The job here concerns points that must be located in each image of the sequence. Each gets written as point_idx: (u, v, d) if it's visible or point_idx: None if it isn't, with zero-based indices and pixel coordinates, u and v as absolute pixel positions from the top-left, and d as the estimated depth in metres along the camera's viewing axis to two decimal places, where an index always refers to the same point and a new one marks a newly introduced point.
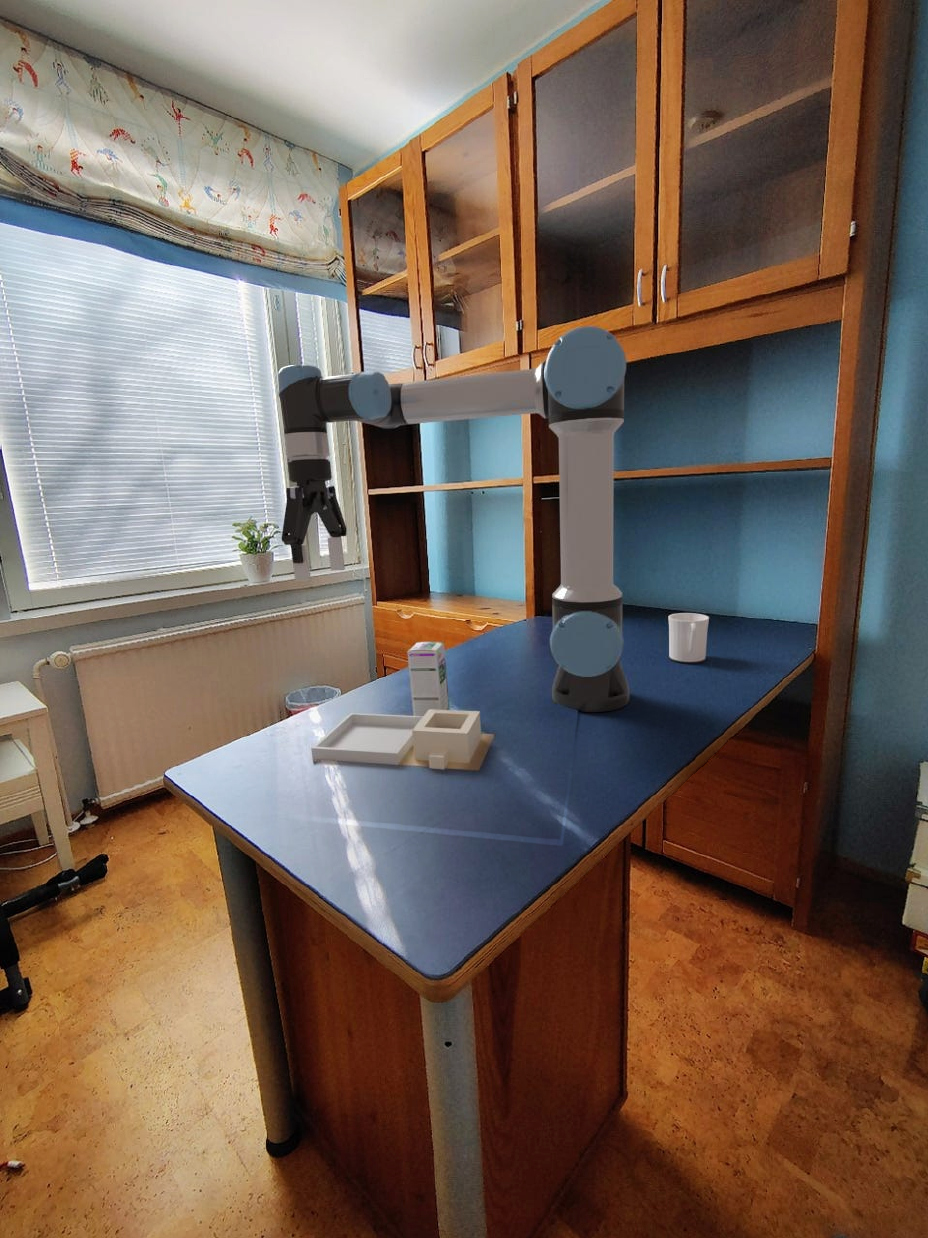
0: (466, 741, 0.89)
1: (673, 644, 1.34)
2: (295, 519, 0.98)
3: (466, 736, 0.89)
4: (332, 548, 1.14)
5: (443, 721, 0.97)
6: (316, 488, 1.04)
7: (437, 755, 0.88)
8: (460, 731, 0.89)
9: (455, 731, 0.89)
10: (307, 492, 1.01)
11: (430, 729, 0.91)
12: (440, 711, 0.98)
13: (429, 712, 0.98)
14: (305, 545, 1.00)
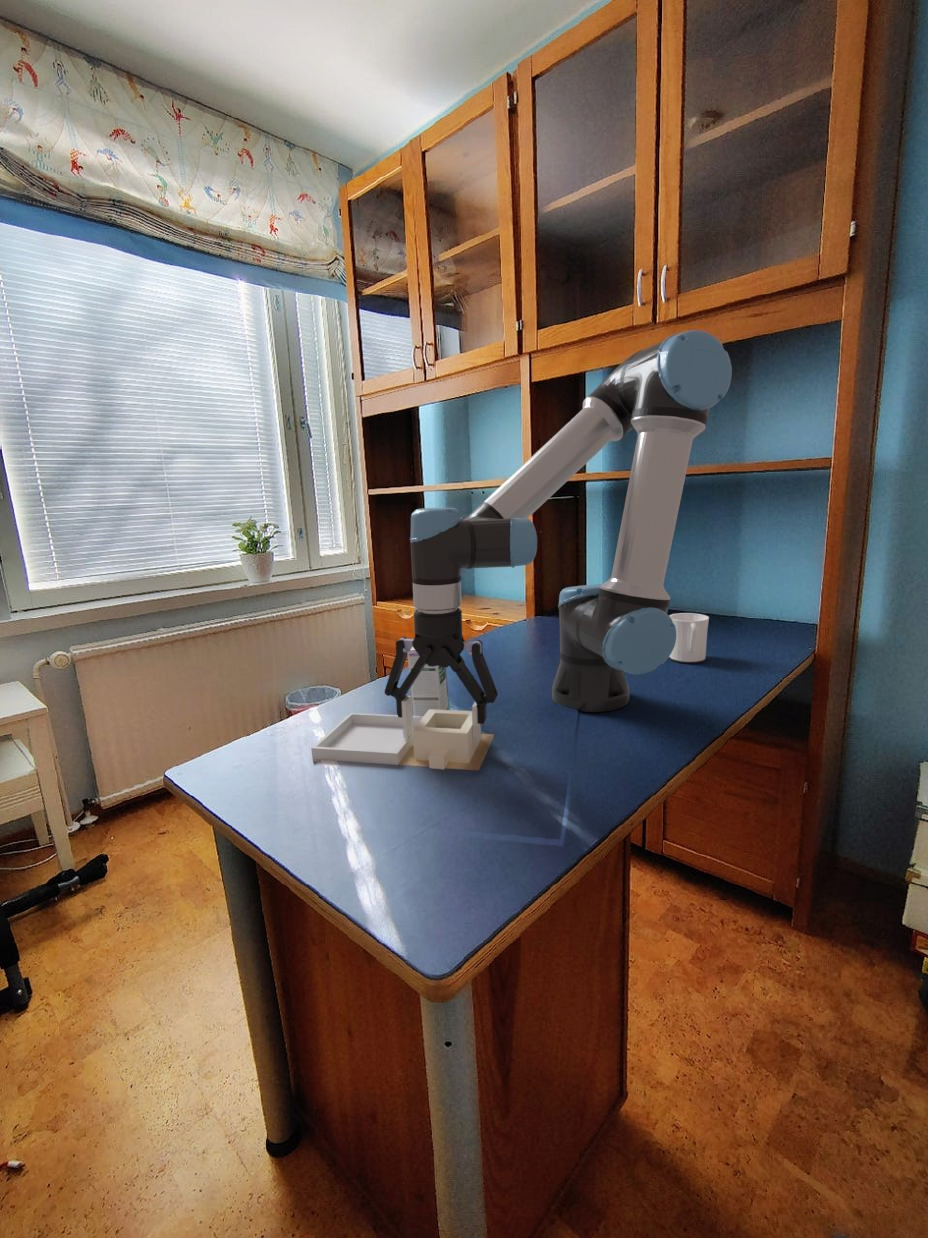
0: (466, 741, 0.89)
1: None
2: (390, 673, 0.93)
3: (466, 736, 0.89)
4: None
5: (443, 721, 0.97)
6: (434, 642, 0.90)
7: (437, 755, 0.88)
8: (460, 731, 0.89)
9: (455, 731, 0.89)
10: (414, 645, 0.91)
11: (430, 729, 0.91)
12: (440, 711, 0.98)
13: (429, 712, 0.98)
14: (403, 702, 0.93)
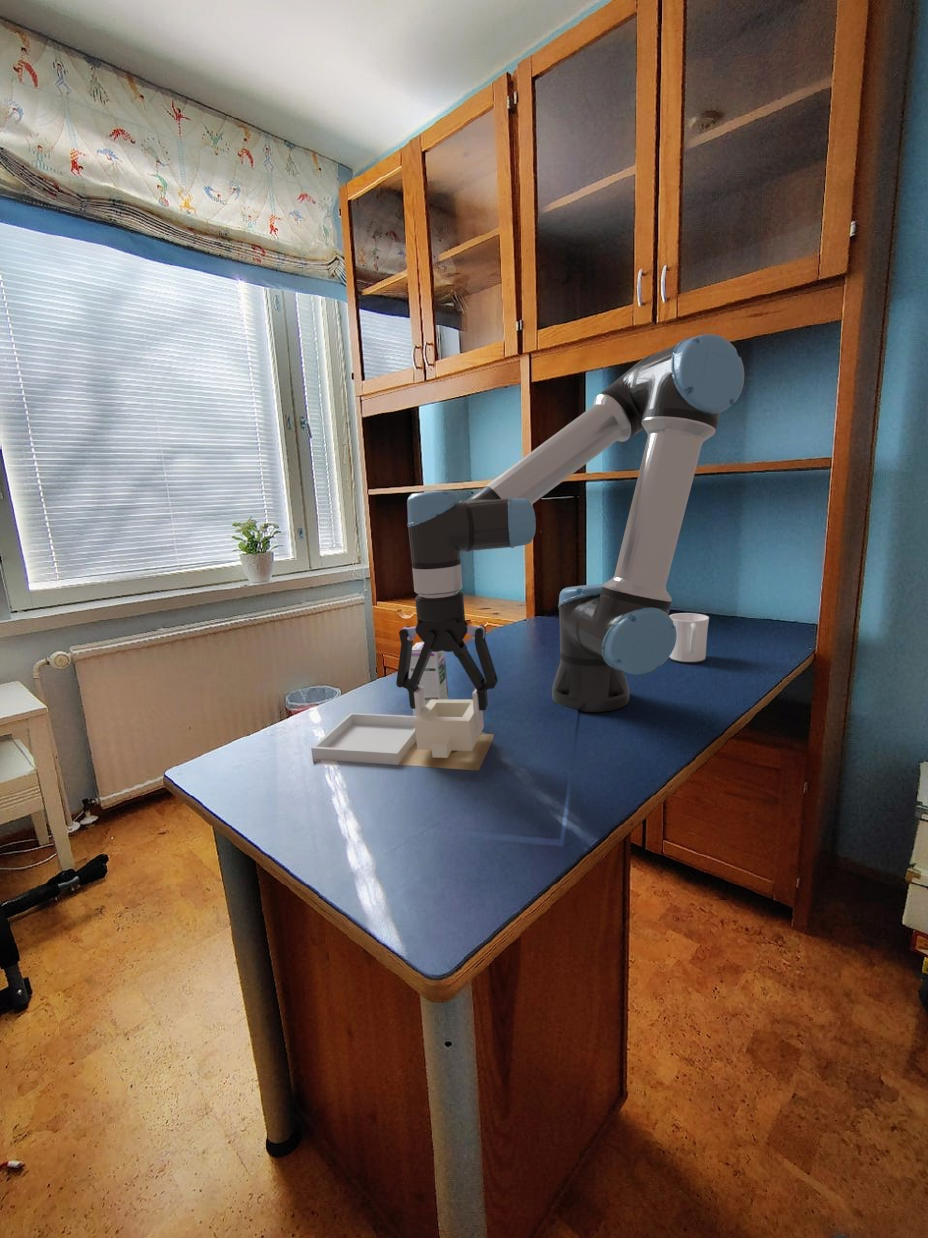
0: (468, 729, 0.88)
1: None
2: None
3: (468, 724, 0.88)
4: None
5: (445, 711, 0.97)
6: (437, 627, 0.89)
7: (440, 744, 0.88)
8: (462, 719, 0.89)
9: (457, 719, 0.89)
10: (418, 632, 0.90)
11: (432, 718, 0.90)
12: (442, 701, 0.98)
13: (431, 702, 0.97)
14: (415, 693, 0.93)
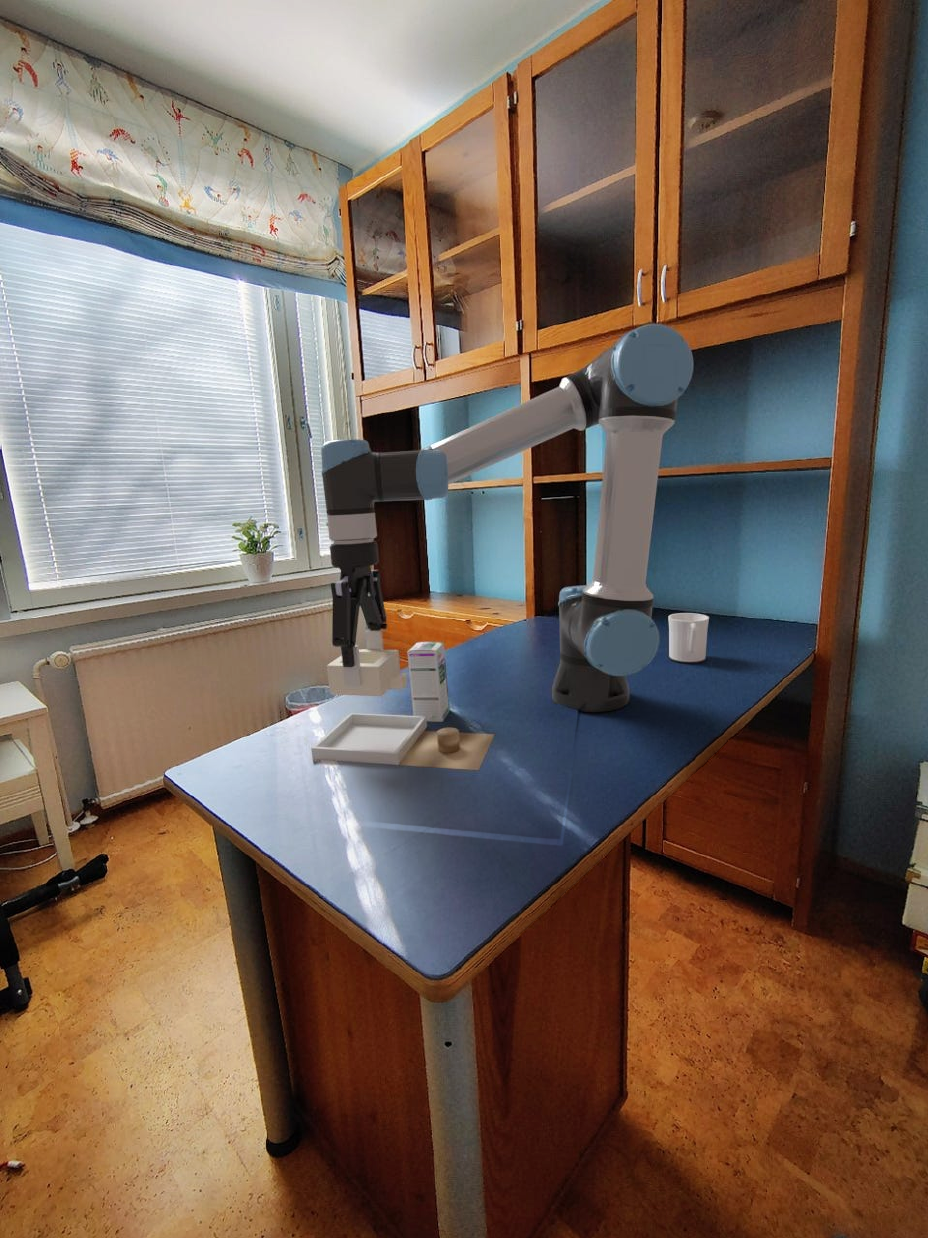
0: (398, 657, 0.99)
1: (673, 644, 1.34)
2: (345, 621, 0.87)
3: (398, 653, 0.99)
4: (371, 643, 1.00)
5: None
6: (361, 573, 0.92)
7: (402, 675, 0.95)
8: (392, 652, 0.98)
9: (391, 653, 0.97)
10: (353, 582, 0.89)
11: (380, 661, 0.93)
12: (337, 661, 0.95)
13: (336, 664, 0.93)
14: (357, 647, 0.90)
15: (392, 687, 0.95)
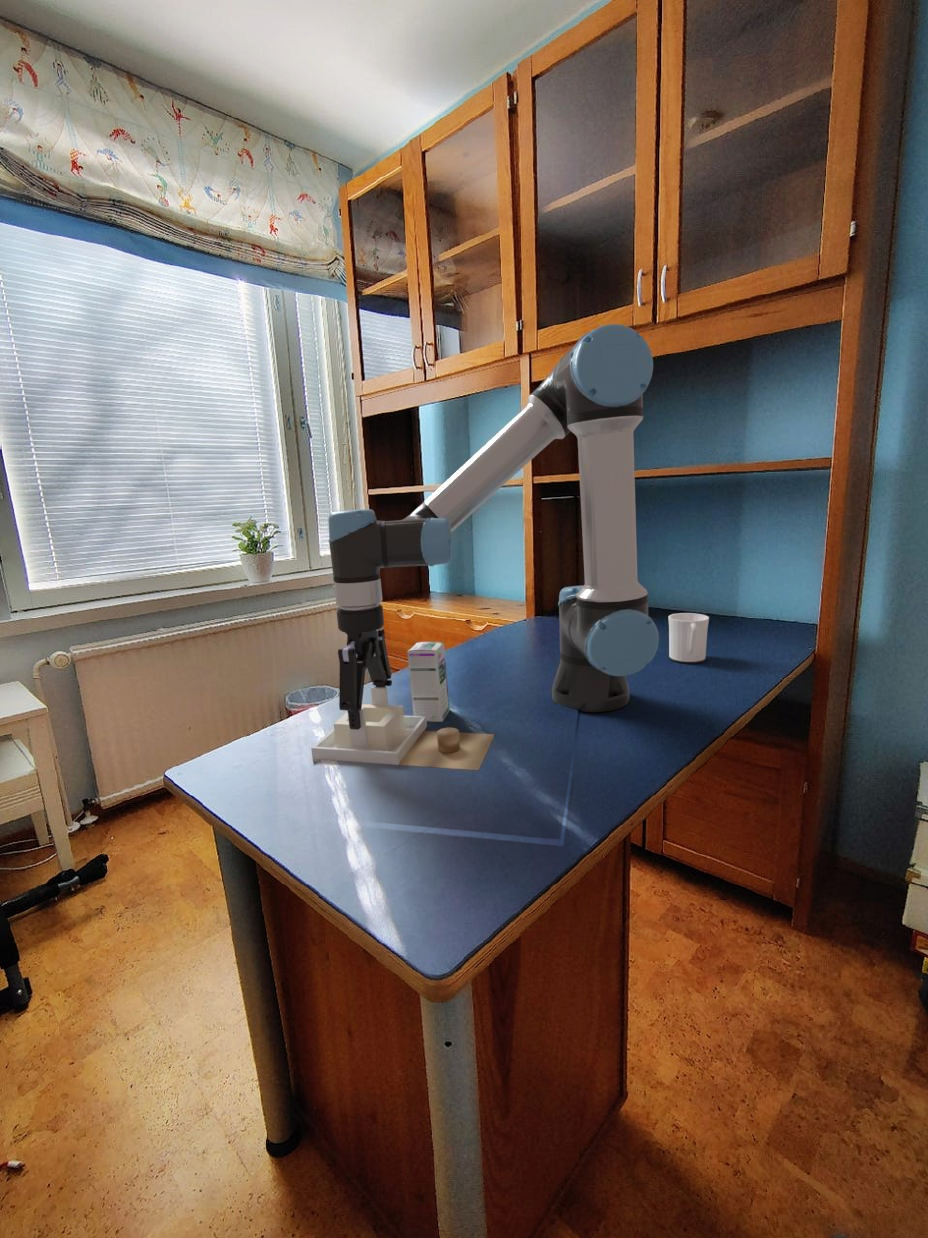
0: (403, 713, 1.01)
1: (673, 644, 1.34)
2: (352, 687, 0.89)
3: None
4: (376, 699, 1.02)
5: None
6: (367, 637, 0.94)
7: (407, 732, 0.97)
8: (397, 708, 1.00)
9: (396, 710, 0.99)
10: (359, 647, 0.92)
11: (385, 719, 0.96)
12: (344, 718, 0.97)
13: (342, 723, 0.95)
14: (363, 709, 0.93)
15: (397, 744, 0.97)
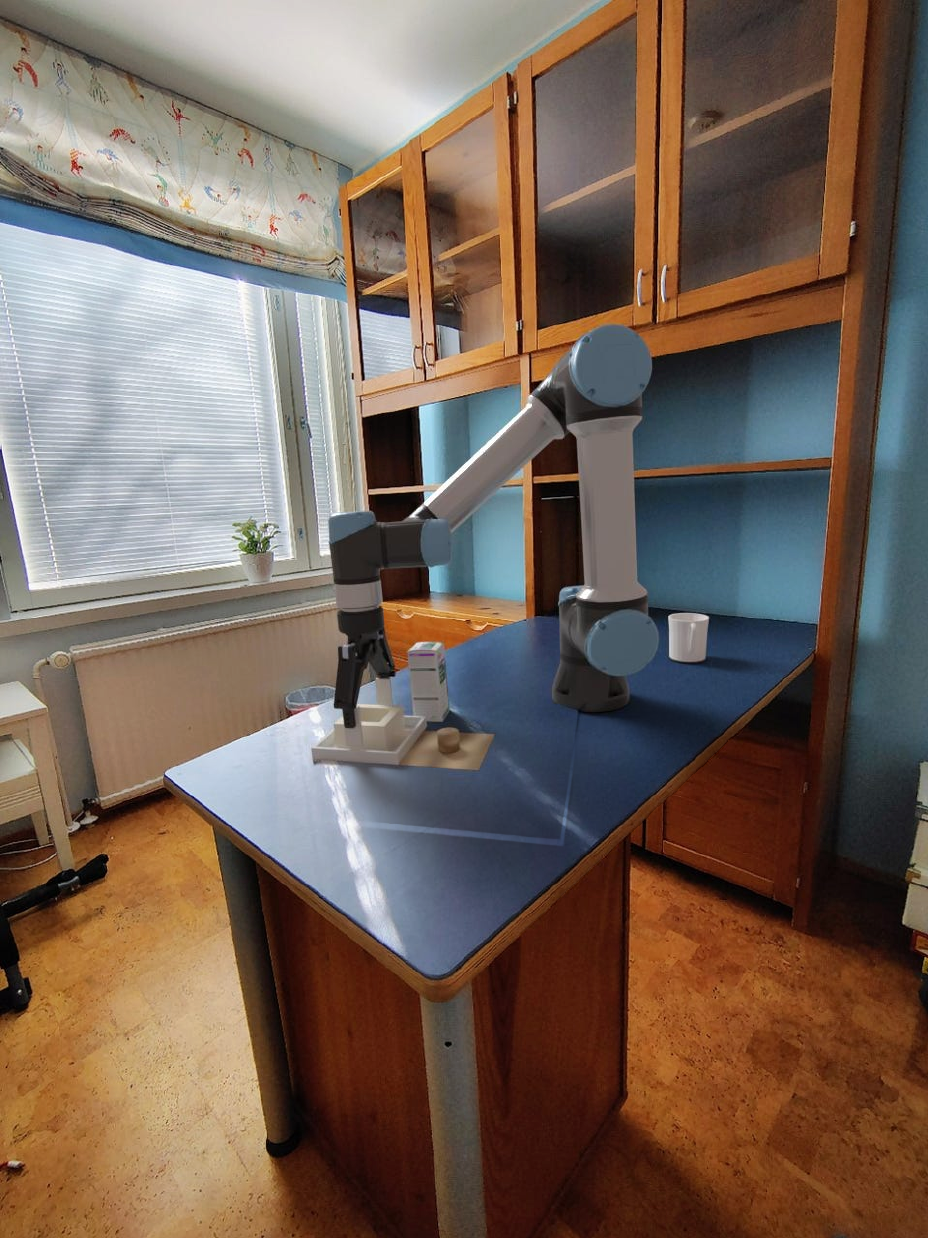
0: (403, 713, 1.01)
1: (673, 644, 1.34)
2: (348, 684, 0.88)
3: None
4: (380, 690, 1.04)
5: None
6: (368, 638, 0.95)
7: (407, 732, 0.97)
8: (397, 708, 1.00)
9: (396, 710, 0.99)
10: (359, 647, 0.92)
11: (385, 719, 0.96)
12: None
13: (342, 723, 0.95)
14: (358, 708, 0.90)
15: (397, 744, 0.97)
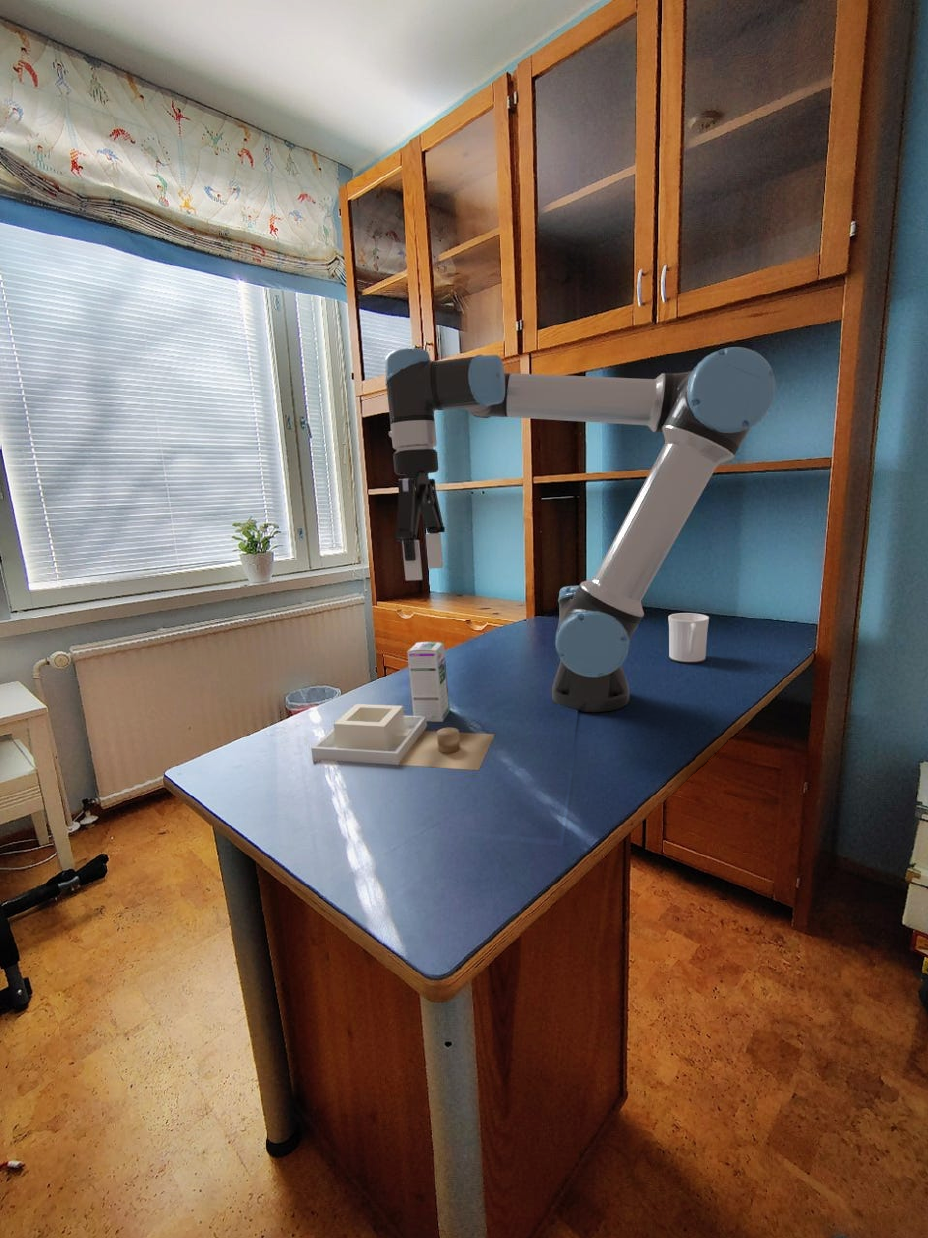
0: (403, 713, 1.01)
1: (673, 644, 1.34)
2: (410, 513, 0.91)
3: None
4: (430, 545, 1.07)
5: None
6: (423, 481, 0.98)
7: (407, 732, 0.97)
8: (397, 708, 1.00)
9: (396, 710, 0.99)
10: (417, 485, 0.95)
11: (385, 719, 0.96)
12: (344, 718, 0.97)
13: (342, 723, 0.95)
14: (418, 541, 0.94)
15: (397, 744, 0.97)
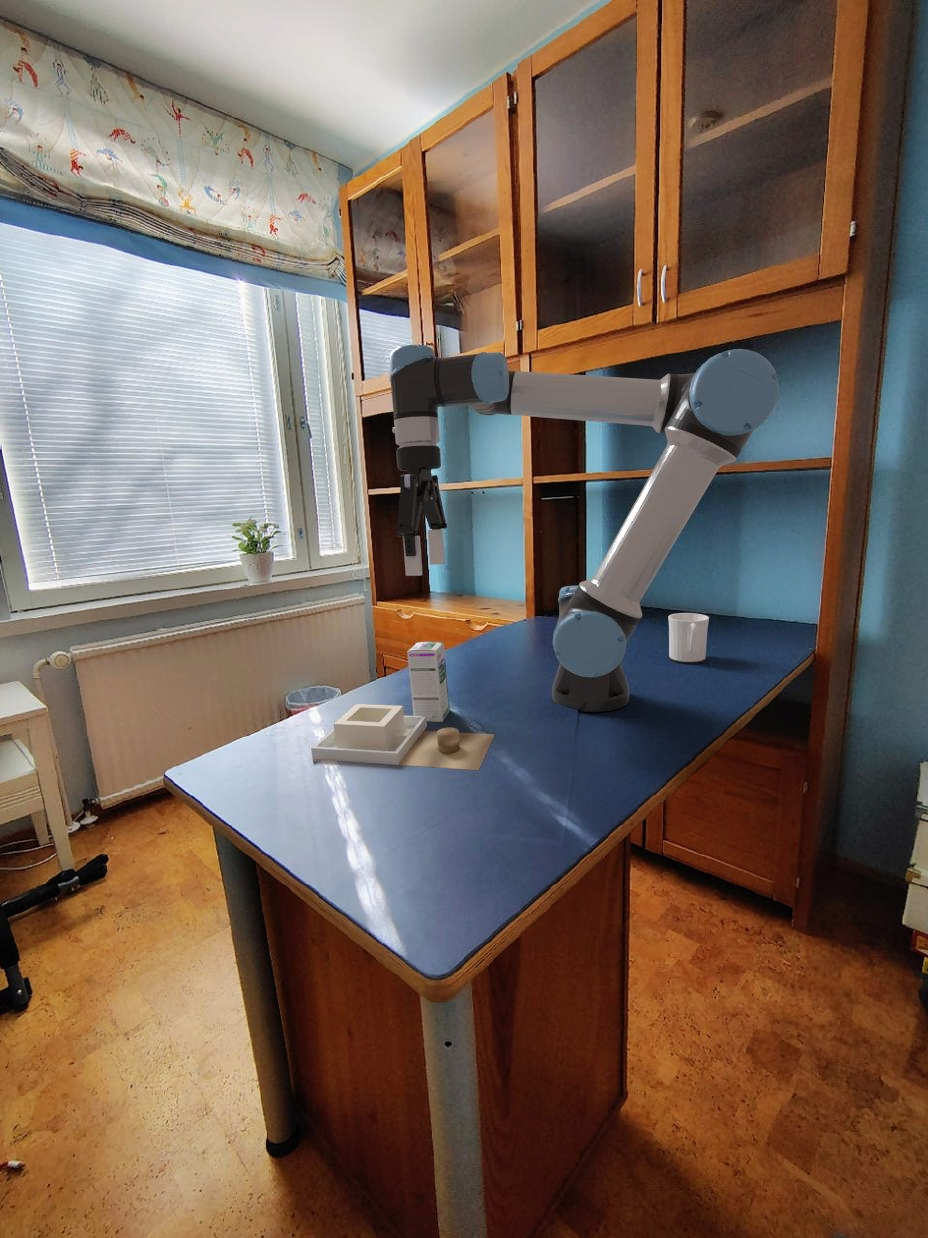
0: (403, 713, 1.01)
1: (673, 644, 1.34)
2: (411, 509, 0.92)
3: None
4: (432, 541, 1.08)
5: None
6: (425, 477, 0.98)
7: (407, 732, 0.97)
8: (397, 708, 1.00)
9: (396, 710, 0.99)
10: (419, 481, 0.95)
11: (385, 719, 0.96)
12: (344, 718, 0.97)
13: (342, 723, 0.95)
14: (418, 537, 0.94)
15: (397, 744, 0.97)
